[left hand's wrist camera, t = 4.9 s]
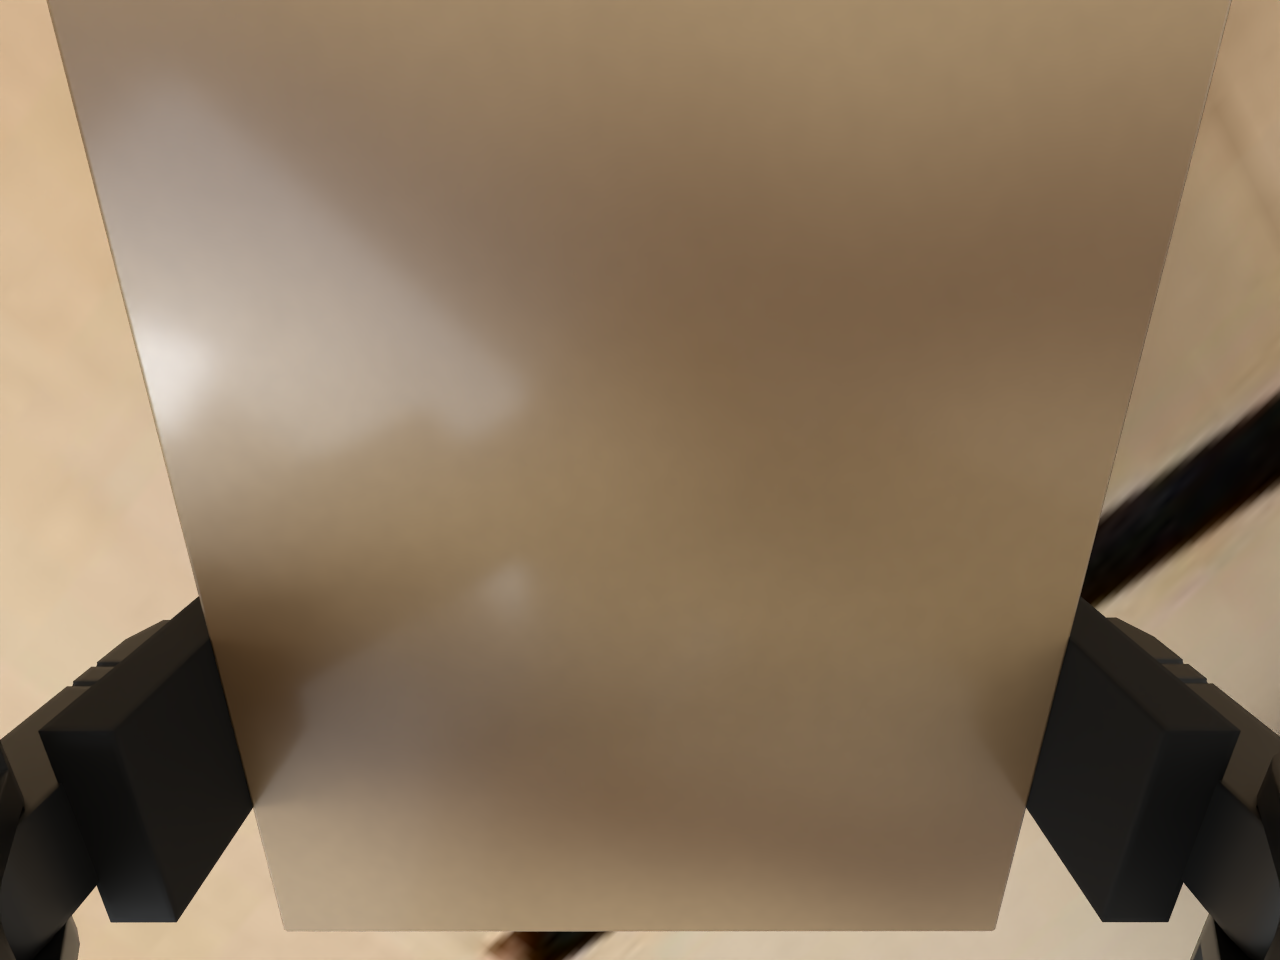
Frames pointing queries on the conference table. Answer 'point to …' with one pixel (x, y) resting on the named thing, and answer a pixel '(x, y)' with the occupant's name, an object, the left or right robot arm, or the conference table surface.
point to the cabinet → (639, 426)
